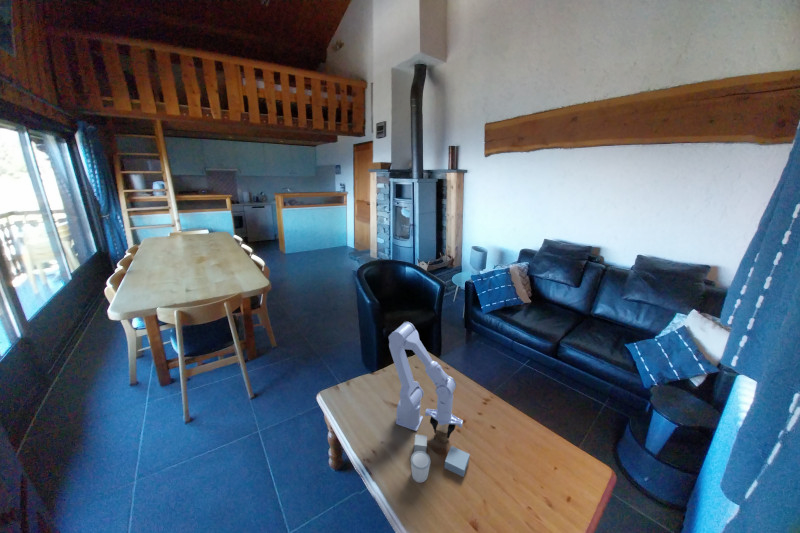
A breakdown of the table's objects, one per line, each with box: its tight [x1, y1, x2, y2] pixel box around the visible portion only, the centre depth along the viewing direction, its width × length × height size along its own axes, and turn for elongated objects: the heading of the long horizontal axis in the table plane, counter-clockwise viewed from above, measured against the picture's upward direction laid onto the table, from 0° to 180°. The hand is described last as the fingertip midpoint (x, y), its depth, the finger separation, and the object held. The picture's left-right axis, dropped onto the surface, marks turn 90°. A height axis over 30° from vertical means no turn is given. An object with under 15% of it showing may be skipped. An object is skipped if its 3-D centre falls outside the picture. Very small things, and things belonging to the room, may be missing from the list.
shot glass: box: [410, 451, 431, 483], centre depth 104 cm, size 7×7×7 cm
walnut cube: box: [434, 422, 449, 444], centre depth 119 cm, size 4×4×5 cm
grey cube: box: [413, 434, 428, 453], centre depth 113 cm, size 4×4×5 cm
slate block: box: [443, 445, 471, 478], centre depth 108 cm, size 7×7×4 cm
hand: (442, 434), depth 119 cm, fingers closed on walnut cube, 4 cm apart
